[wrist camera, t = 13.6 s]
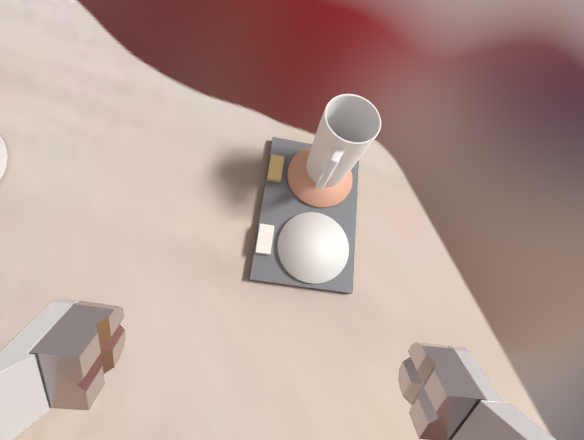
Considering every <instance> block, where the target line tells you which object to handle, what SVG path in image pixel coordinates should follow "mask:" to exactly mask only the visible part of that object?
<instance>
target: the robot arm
mask: <svg viewBox="0 0 584 440" xmlns="http://www.w3.org/2000/svg"><path fill="white" fill-rule="evenodd" d="M7 158H8V156H7V148H6V145H5V143H4V141H3V139H2V138H1V136H0V180H1V178H2V176H3V174H4V172H5V169H6V165H7ZM123 318H124V314H123V308H121V307H119V306H113V305H106V304H99V303H92V302H85V301H76V300H69V299H62V298H59V299H56V300H54V301H52V302H51V303H50V304H49V305H48V306H47V307H46V308H45V309H44V310H43V311H42V312H41V313H40V314H39V315H37V316H36V317H35V318H34V319H33V320H32V321H31V322H30V323H29V324H28V325H27V326H26V327H25V328H24V329H23V330H22V331H21V332H20V333H19V334H18V335H17V336H16V337H15V338H14V339H13V340H12V341H11V342H10V343H8V344H7V345H6V346H5V347H4V348H3V349H2V350H1V351H0V440H12V439H13V438H15V437H16V436H17V435H18V434H20V433H21V432H22V431H24V430H25V429H26V428H27V427H29V426H30V425H31V424H33V423H34V422H35V421H37V420H38V419H39V418H40V417H42V416H43V415H44V414H46V413H47V412H48V411H49V410H50V409H49V408H60V409H77V410H89V409H90V408H91V406H92V404H93V402H94V401H95V399H96V397H97V396H98V394H99V392H100V391H101V389H102V387H103V386H104V384H105V382H104V374H105V373H106V372H108V371H109V370H111V369H112V368H114V367H115V365H116V363H117V361H118V359H119V358H120V355H121V353H122V350H123V347H124V342H125V329H124V328H123V327H122V326H121V325H120V323H121V321H122V320H123ZM408 352H409V354H410V357H409V358H408V359H406V360H405V361H403V362H402V365H401V367H400V369H399V385H400V389H401V392H402V395H403V397H404V398H405V399H406V400H407V401H408V402H409V403H410V404H411V408H410V411H409V414H410V416H411V419H412V422H413V424H414V427H415V429H416V432H417V435H418V437H419V439H427V440H556V439H555V438H553V437H552V436H551V435H549V434H548V433H547V432H546V431H544V430H543V429H542V428H541V427H539V426H538V425H537V424H536V423H534V422H533V421H532V420H531V419H529V418H528V417H527V416H526V415H524V414H523V413H522V412H521V411H519V410H518V409H517V408H516V407H514V406H513V405H512V404H511V403H505V402H504V400H503V399H502V398H501V396H500V395H499V393H498V392H497V390H496V389H495V387H494V386H493V384H492V383H491V381H490V380H489V378H488V377H487V375H486V374H485V373H484V371H483V370H482V368H481V367H480V365H479V364H478V362H477V361H476V359H475V358H474V356H473V355H472V353H471V352H470V351H469V350H467V349H466V348H463V347H454V346H445V345H436V344H427V343H418V342H415V343H414V344H412V345H411V347H410V349H409V351H408Z"/></svg>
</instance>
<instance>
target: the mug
mask: <svg viewBox="0 0 584 440" xmlns="http://www.w3.org/2000/svg"><path fill="white" fill-rule="evenodd" d="M380 128H381V118H380V115H379V113H378V111H377V109H376V108H375V107H374V105H373V104H372V103H370V102H369V101H368V100H367V99H365V98H363V97H361V96H358V95H354V94H343V95H338V96H336V97H334V98H333V99H331V100H330V101H329V103H328V104H327V106H326V108H325V111H324V113H323V116H322V118H321V121H320V124H319V127H318V130H317V133H316V136H315V138H314V141H313V144H312V147H311V150H310V153H309V156H308V159H307V163H306V170H307V173H308V175H309V177H310V178H311V179H312V180H313V181H314V182H315V183H316V185H315V187H316V188H317V189H319V190H323V189H324V187H325V186H326V187H331V186H335V185H337V184H339V183H340V182H341V181H342V180H343V179H344V178H345V177H346V175H347V174H348V173H349V172H350V170H351V169H352V168H353V167H354V165H355V164H356V163H357V161H358V160H359V159H360V157H361V156H362V155H363V154H364V152H365V151H366V150H367V149H368V147H369V146H370V145H371V143H372V142H373V140H374V139H375V137H376V136H377V135H378V133H379V131H380Z"/></svg>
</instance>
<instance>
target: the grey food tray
mask: <svg viewBox="0 0 584 440" xmlns="http://www.w3.org/2000/svg"><path fill="white" fill-rule="evenodd" d="M311 147H312V144H307V143H302V142H296V141H291V140H286V139H280V138H275V137H273V138H272V144H271V150H270V157H269V163H268V169H267V175H266V181H265V187H264V193H263V200H262V206H261V212H260V218H259V224H258V230H257V237H256V243H255V249H254V255H253V261H252V267H251V273H250V280H253V281H261V282H268V283H275V284H283V285H290V286H297V287H305V288H312V289H319V290H327V291H334V292H341V293H348V294H351V293H353V272H354V250H355V228H356V207H357V185H358V164H359V160H358V161H357V163H356V164H355V165H354V167H353V168H352V169H351V170H350V172H349V173H348V174H347V175H346V177H345V178H344V179H343V180H342V181H341V182H340V183H339V184H337V185H335V186H331V187H326V186H325V187H324V189H323V190H319V189H317V188H316V187H315V185H316V183H315V182H314V181H313V180H312V179H311V178H310V177H309V175H308V173H307V170H306V163H307V159H308V156H309V153H310V150H311Z"/></svg>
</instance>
